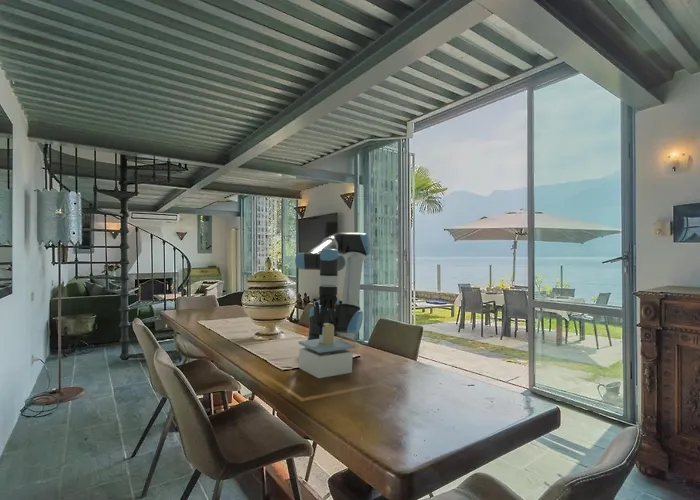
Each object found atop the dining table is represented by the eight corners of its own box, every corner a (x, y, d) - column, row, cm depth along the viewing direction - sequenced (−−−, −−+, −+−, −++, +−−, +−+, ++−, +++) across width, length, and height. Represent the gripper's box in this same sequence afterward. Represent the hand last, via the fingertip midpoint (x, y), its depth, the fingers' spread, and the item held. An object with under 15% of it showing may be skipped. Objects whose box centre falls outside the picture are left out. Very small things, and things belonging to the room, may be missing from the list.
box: (330, 364, 170) (331, 344, 170) (351, 374, 157) (352, 352, 157) (298, 369, 161) (299, 348, 161) (318, 380, 148) (319, 356, 148)
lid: (332, 339, 171) (333, 319, 172) (354, 347, 158) (355, 325, 158) (298, 343, 162) (299, 322, 162) (319, 352, 148) (320, 329, 148)
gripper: (340, 284, 168) (338, 338, 168) (306, 285, 158) (304, 342, 158) (350, 286, 162) (348, 341, 162) (315, 287, 152) (313, 346, 152)
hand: (326, 341), depth 160 cm, fingers closed on lid, 4 cm apart
